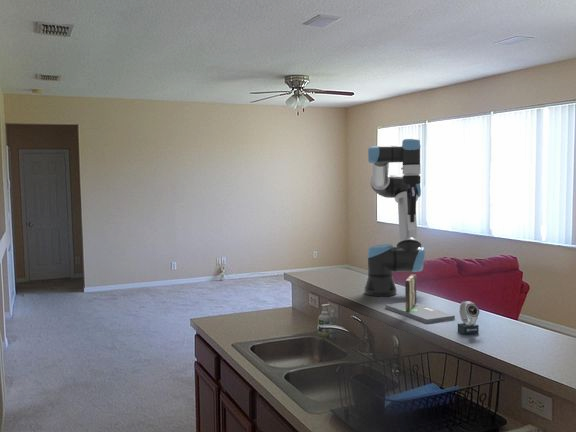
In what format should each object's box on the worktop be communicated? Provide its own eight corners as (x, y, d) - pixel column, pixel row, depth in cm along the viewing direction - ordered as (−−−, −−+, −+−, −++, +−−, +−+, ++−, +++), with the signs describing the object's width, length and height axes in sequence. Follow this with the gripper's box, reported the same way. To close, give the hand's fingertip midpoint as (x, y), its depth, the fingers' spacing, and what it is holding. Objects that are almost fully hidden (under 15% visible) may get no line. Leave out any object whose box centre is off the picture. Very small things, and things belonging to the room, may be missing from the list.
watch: (467, 336, 185) (467, 305, 185) (454, 330, 193) (454, 300, 192) (482, 335, 187) (482, 303, 186) (469, 329, 194) (469, 299, 194)
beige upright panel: (410, 302, 230) (410, 274, 230) (416, 302, 229) (416, 274, 229) (404, 310, 216) (403, 280, 215) (410, 310, 215) (410, 281, 214)
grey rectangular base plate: (385, 308, 229) (385, 304, 229) (411, 304, 234) (411, 301, 234) (426, 323, 203) (426, 319, 203) (454, 319, 209) (454, 315, 208)
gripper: (400, 175, 240) (401, 228, 242) (404, 175, 227) (404, 231, 229) (418, 175, 240) (418, 228, 241) (422, 174, 227) (423, 230, 228)
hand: (411, 229), depth 235 cm, fingers closed
